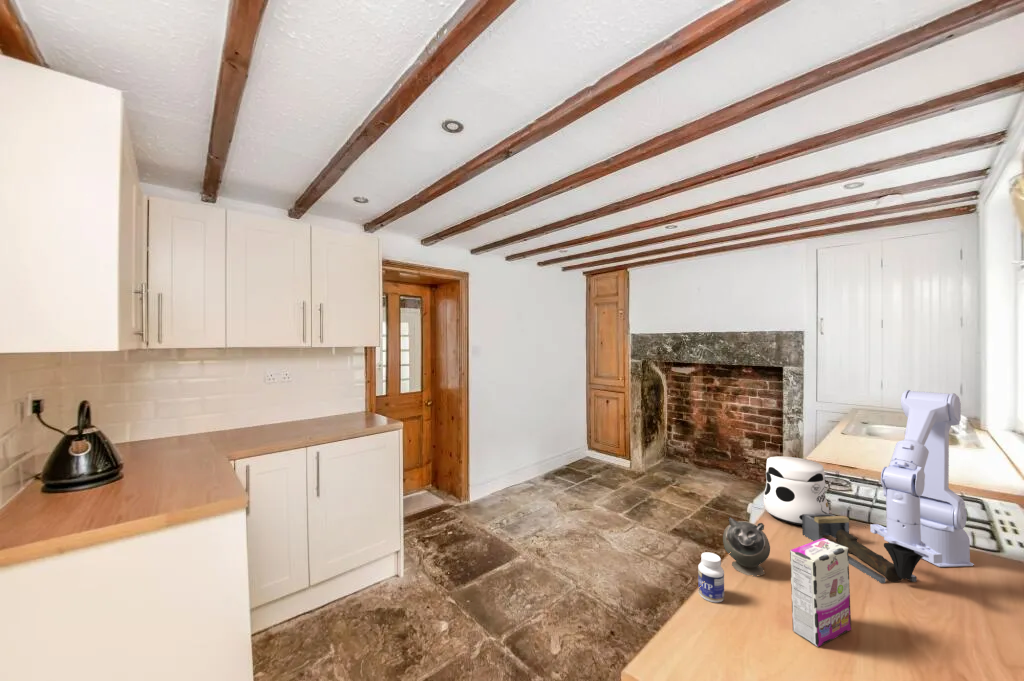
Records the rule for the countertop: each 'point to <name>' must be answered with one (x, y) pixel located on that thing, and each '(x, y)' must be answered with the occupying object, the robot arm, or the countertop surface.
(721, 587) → the pill bottle
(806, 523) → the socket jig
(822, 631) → the candy bar box
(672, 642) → the countertop surface
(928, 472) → the robot arm
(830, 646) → the countertop surface
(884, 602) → the countertop surface
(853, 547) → the dark brown log
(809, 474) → the white spotted cookie jar
